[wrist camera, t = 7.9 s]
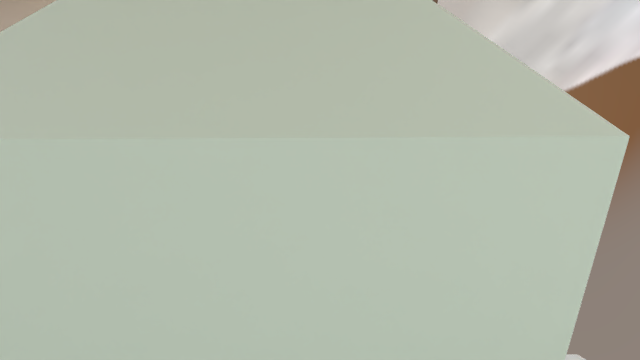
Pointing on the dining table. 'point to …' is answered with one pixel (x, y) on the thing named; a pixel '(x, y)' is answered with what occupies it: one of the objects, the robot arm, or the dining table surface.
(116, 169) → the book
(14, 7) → the dining table surface
